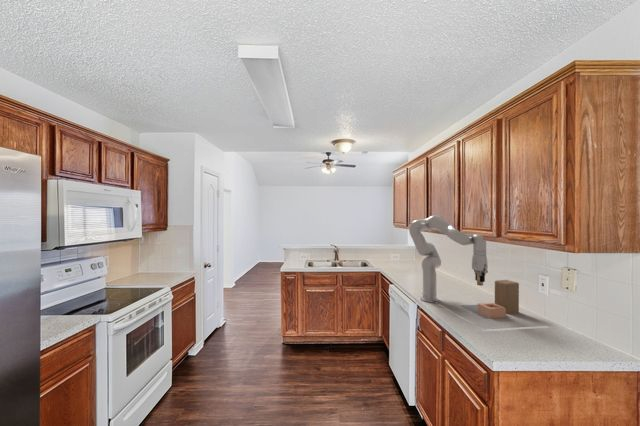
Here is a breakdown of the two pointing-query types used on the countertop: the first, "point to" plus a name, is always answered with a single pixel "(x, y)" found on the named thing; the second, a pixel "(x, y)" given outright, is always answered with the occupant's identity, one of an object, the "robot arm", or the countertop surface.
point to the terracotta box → (491, 310)
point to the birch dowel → (479, 279)
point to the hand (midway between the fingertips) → (480, 280)
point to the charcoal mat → (475, 310)
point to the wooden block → (507, 295)
